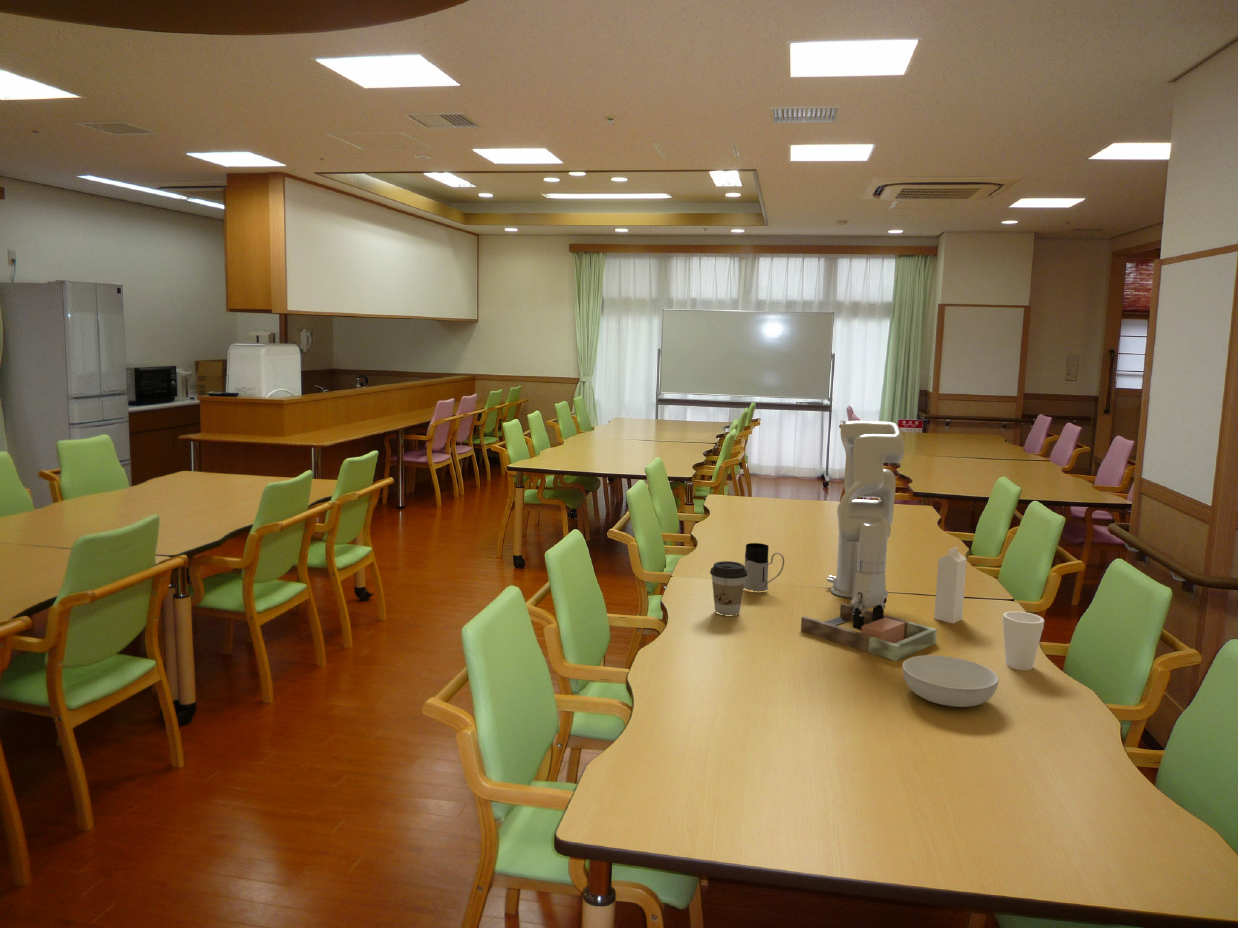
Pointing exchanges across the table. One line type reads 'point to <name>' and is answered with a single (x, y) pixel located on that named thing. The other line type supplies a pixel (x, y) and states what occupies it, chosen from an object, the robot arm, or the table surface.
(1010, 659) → the foam cup
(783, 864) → the table surface
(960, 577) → the milk
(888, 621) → the terracotta block
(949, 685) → the serving bowl
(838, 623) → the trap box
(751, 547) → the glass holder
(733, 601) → the coffee cup
